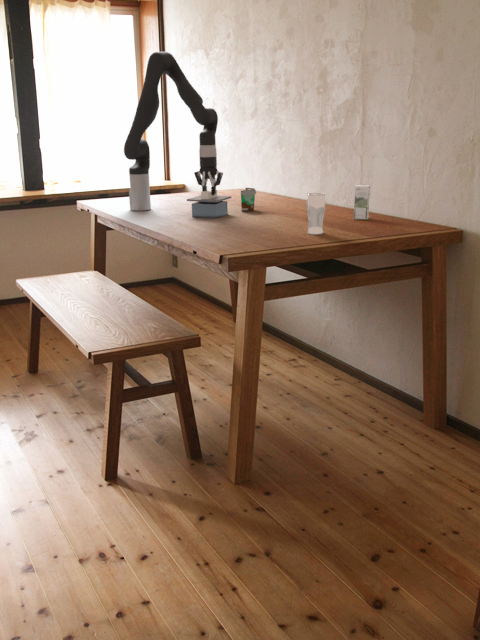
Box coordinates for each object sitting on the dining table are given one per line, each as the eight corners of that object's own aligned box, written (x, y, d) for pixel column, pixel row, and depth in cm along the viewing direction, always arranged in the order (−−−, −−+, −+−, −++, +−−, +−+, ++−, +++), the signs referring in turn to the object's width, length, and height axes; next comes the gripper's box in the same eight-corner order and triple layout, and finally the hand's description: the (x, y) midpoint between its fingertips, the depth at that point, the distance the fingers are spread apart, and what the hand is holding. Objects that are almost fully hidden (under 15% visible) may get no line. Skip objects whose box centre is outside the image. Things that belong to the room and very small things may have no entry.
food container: (253, 212, 298) (253, 190, 295) (241, 212, 299) (240, 190, 296) (258, 208, 309) (258, 187, 306) (246, 208, 310) (245, 187, 307)
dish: (192, 216, 289) (191, 203, 287) (204, 213, 299) (204, 200, 297) (215, 218, 284) (215, 204, 282) (227, 214, 294) (227, 201, 292)
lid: (186, 201, 286) (186, 192, 284) (202, 196, 299) (202, 188, 297) (216, 202, 280) (216, 193, 278) (231, 198, 293) (231, 189, 291)
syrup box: (368, 218, 276) (370, 184, 272) (366, 220, 271) (368, 185, 267) (355, 217, 278) (356, 183, 274) (353, 219, 273) (354, 185, 268)
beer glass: (304, 232, 248) (305, 193, 244) (322, 231, 249) (323, 192, 244) (308, 235, 242) (308, 195, 237) (326, 234, 242) (327, 194, 237)
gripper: (189, 156, 283) (191, 195, 288) (218, 156, 277) (219, 196, 282) (198, 154, 289) (199, 193, 295) (226, 155, 283) (227, 194, 289)
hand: (209, 194), depth 288 cm, fingers closed on lid, 3 cm apart
